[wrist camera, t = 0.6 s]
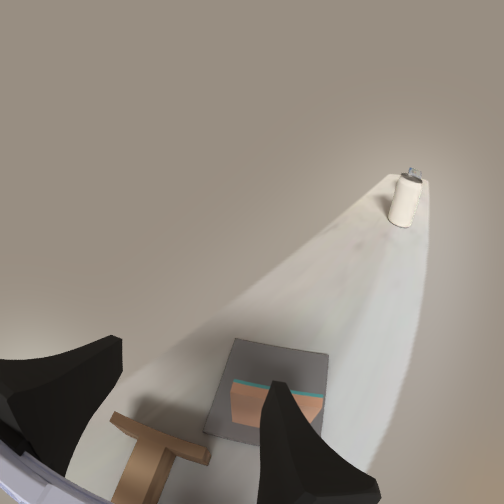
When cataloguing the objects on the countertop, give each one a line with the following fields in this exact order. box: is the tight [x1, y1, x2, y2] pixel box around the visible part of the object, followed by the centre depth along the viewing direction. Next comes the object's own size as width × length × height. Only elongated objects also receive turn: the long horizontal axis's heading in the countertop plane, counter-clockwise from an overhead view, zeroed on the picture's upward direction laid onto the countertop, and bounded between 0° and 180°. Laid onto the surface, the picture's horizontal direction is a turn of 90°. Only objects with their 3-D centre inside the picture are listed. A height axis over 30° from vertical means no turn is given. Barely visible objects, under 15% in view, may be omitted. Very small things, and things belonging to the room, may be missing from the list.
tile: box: [230, 379, 323, 428], centre depth 20 cm, size 1×7×8 cm, turn 76°
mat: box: [203, 338, 329, 446], centre depth 26 cm, size 12×12×1 cm
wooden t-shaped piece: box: [110, 411, 211, 504], centre depth 14 cm, size 13×9×4 cm
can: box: [388, 173, 422, 228], centre depth 56 cm, size 6×6×12 cm
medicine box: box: [408, 168, 421, 179], centre depth 73 cm, size 8×4×9 cm, turn 146°
